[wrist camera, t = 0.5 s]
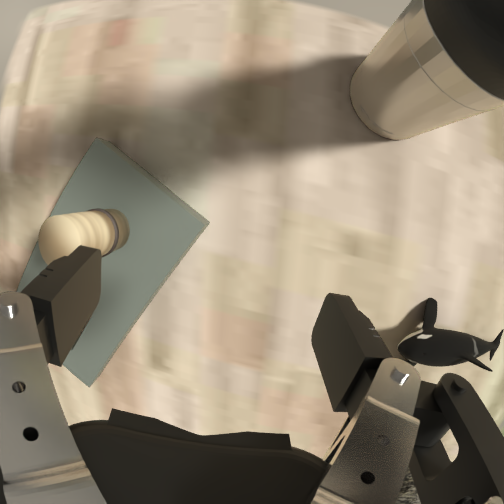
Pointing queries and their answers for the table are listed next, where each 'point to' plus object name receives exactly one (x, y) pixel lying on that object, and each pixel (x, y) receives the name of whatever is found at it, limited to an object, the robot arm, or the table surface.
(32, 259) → the board
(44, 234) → the peg
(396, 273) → the table surface
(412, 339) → the toy
